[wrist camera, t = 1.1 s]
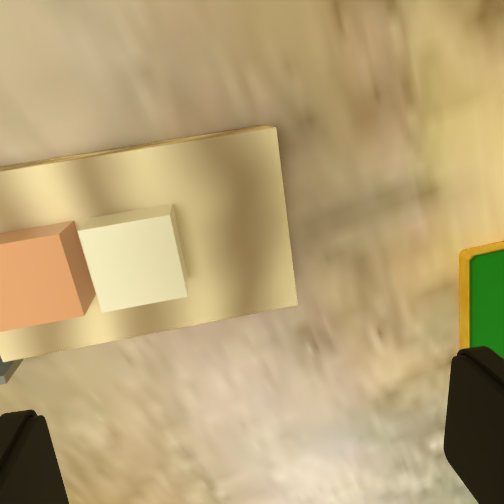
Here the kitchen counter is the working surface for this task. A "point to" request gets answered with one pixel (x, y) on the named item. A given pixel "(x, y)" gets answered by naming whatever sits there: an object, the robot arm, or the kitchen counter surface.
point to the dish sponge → (482, 297)
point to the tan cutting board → (188, 222)
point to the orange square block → (43, 276)
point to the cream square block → (135, 257)
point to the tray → (8, 369)
